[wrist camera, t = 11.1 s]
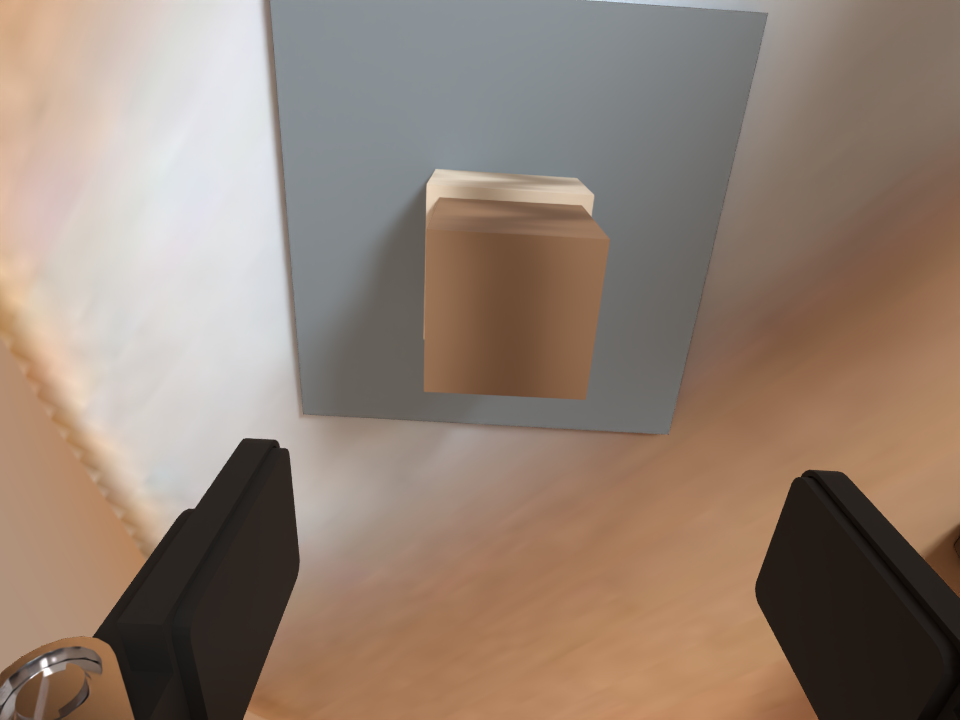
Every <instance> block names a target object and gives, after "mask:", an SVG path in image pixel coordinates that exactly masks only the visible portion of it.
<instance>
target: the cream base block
mask: <svg viewBox="0 0 960 720" xmlns="http://www.w3.org/2000/svg"><path fill="white" fill-rule="evenodd" d="M439 197H444V198H462V199H480V200H497V201H515V202H532V203H550V204H568V205H582V206H583V207H584V208H585V210H586V211H587V212H588V213H589V214H590V216H592V209H593V202H594V194H593V193H592V192H591V191H590V190H589V189H588V188H587V187H586V186H585V185H584V184H583V183H582V182H581V181H580V180H579V179H578V178H569V177H554V176H538V175H523V174H507V173H492V172H476V171H461V170H445V169H435V171H434V173H433V174H432V176H431V178H430V179H429V181H428V183H427V188H426V228H427V226H428V224H429V221H430V219H431V216H432V214H433V211H434V209H435V206H436V204H437V201H438V199H439ZM425 278H426V236H425ZM423 339H425V284H424V332H423Z"/></svg>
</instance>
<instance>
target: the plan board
mask: <svg viewBox="0 0 960 720" xmlns="http://www.w3.org/2000/svg"><path fill="white" fill-rule="evenodd" d="M270 8H271V20H272V33H273V45H274V57H275V70H276V82H277V95H278V107H279V119H280V132H281V144H282V157H283V169H284V181H285V194H286V206H287V219H288V231H289V244H290V256H291V268H292V281H293V293H294V306H295V318H296V330H297V343H298V355H299V368H300V380H301V392H302V405H303V414H308V415H326V416H344V417H362V418H380V419H398V420H416V421H434V422H452V423H470V424H488V425H506V426H524V427H542V428H560V429H578V430H596V431H614V432H632V433H650V434H668V435H669V431H670V427H671V423H672V418H673V414H674V410H675V406H676V401H677V397H678V393H679V389H680V385H681V380H682V376H683V372H684V368H685V363H686V359H687V355H688V351H689V346H690V342H691V338H692V334H693V329H694V325H695V321H696V317H697V312H698V308H699V304H700V300H701V296H702V291H703V287H704V283H705V279H706V274H707V270H708V266H709V262H710V257H711V253H712V249H713V245H714V240H715V236H716V232H717V228H718V223H719V219H720V215H721V211H722V206H723V202H724V198H725V194H726V190H727V185H728V181H729V177H730V173H731V168H732V164H733V160H734V156H735V151H736V147H737V143H738V139H739V134H740V130H741V126H742V122H743V117H744V113H745V109H746V105H747V101H748V96H749V92H750V88H751V84H752V79H753V75H754V71H755V67H756V62H757V58H758V54H759V50H760V45H761V41H762V37H763V33H764V28H765V24H766V20H767V16H768V13H759V12H745V11H731V10H717V9H702V8H688V7H674V6H660V5H646V4H632V3H617V2H603V1H589V0H270ZM435 169H445V170H461V171H476V172H492V173H507V174H523V175H538V176H554V177H569V178H578V179H579V180H580V181H581V182H582V183H583V184H584V185H585V186H586V187H587V188H588V189H589V190H590V191H591V192H592V193H593V194H594V202H593V209H592V216H591V217H592V218H593V219H594V221H595V222H596V223H597V224H598V225H599V227H600V228H601V229H602V230H603V231H604V233H605V234H606V235H607V236H608V238H609V239H610V243H609V250H608V256H607V263H606V269H605V276H604V283H603V289H602V296H601V303H600V309H599V316H598V322H597V329H596V336H595V342H594V349H593V355H592V362H591V369H590V375H589V382H588V388H587V395H586V400H577V399H558V398H538V397H518V396H499V395H479V394H459V393H440V392H424V346H425V339H423V332H424V284H425V236H426V188H427V183H428V181H429V179H430V178H431V176H432V174H433V173H434V171H435Z"/></svg>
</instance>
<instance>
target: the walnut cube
mask: <svg viewBox="0 0 960 720" xmlns="http://www.w3.org/2000/svg"><path fill="white" fill-rule="evenodd" d="M609 243H610V239H609V238H608V236H607V235H606V234H605V233H604V231H603V230H602V229H601V228H600V227H599V225H598V224H597V223H596V222H595V221H594V219H593V218H592V217H591V216H590V214H589V213H588V212H587V211H586V210H585V208H584V207H583V206H582V205H568V204H550V203H532V202H515V201H497V200H480V199H462V198H444V197H439V199H438V201H437V204H436V206H435V209H434V211H433V214H432V216H431V219H430V221H429V224H428V226H427V228H426V278H425V346H424V392H440V393H459V394H479V395H499V396H518V397H538V398H558V399H577V400H586V395H587V388H588V382H589V375H590V369H591V362H592V355H593V349H594V342H595V336H596V329H597V322H598V316H599V309H600V303H601V296H602V289H603V283H604V276H605V269H606V263H607V256H608V250H609Z"/></svg>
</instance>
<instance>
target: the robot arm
mask: <svg viewBox="0 0 960 720" xmlns="http://www.w3.org/2000/svg"><path fill="white" fill-rule="evenodd" d="M299 563H300V559H299V547H298V537H297V527H296V517H295V506H294V496H293V486H292V476H291V465H290V456H289V451H288V449H286V448H280V446H279V443H278V441H276V440H269V439H251V438H245V439H243V440H242V441H241V442H240V444H239V445H238V447H237V448H236V450H235V451H234V452H233V454H232V455H231V457H230V458H229V460H228V461H227V463H226V464H225V466H224V467H223V468H222V470H221V471H220V473H219V474H218V476H217V477H216V479H215V480H214V482H213V483H212V484H211V486H210V487H209V489H208V490H207V492H206V493H205V495H204V496H203V498H202V499H201V500H200V502H199V503H198V505H197V506H196V508H195V509H187V510H185V511H183V512H182V513H181V514H180V516H179V517H178V518H177V519H176V521H175V522H174V523H173V525H172V526H171V528H170V529H169V530H168V532H167V533H166V535H165V536H164V537H163V539H162V540H161V542H160V543H159V544H158V546H157V547H156V549H155V550H154V551H153V553H152V554H151V556H150V557H149V558H148V560H147V561H146V563H145V564H144V566H143V567H142V568H141V570H140V571H139V573H138V574H137V575H136V577H135V578H134V580H133V581H132V582H131V584H130V585H129V587H128V588H127V589H126V591H125V592H124V594H123V595H122V596H121V598H120V599H119V601H118V602H117V603H116V605H115V606H114V608H113V609H112V610H111V612H110V613H109V615H108V616H107V617H106V619H105V620H104V622H103V623H102V625H101V626H100V627H99V629H98V630H97V632H96V633H95V634H94V636H93V637H92V638H91V637H83V636H80V637H72V638H65V639H61V640H58V641H55V642H52V643H49V644H46V645H43V646H41V647H39V648H37V649H35V650H33V651H31V652H29V653H27V654H26V655H24V656H22V657H21V658H19V659H18V660H17V661H15V662H14V663H13V664H12V665H10V666H9V667H7V668H6V669H5V670H4V671H2V672H1V674H0V720H243V718H244V715H245V713H246V710H247V707H248V705H249V702H250V700H251V697H252V694H253V692H254V689H255V686H256V684H257V681H258V679H259V676H260V673H261V671H262V668H263V666H264V663H265V660H266V658H267V655H268V653H269V650H270V647H271V645H272V642H273V640H274V637H275V634H276V632H277V629H278V626H279V624H280V621H281V619H282V616H283V613H284V611H285V608H286V606H287V603H288V600H289V598H290V595H291V593H292V590H293V587H294V585H295V582H296V579H297V576H298V572H299ZM755 592H756V598H757V602H758V604H759V606H760V608H761V610H762V612H763V614H764V616H765V618H766V619H767V621H768V623H769V625H770V627H771V629H772V631H773V633H774V635H775V637H776V639H777V640H778V642H779V644H780V646H781V648H782V650H783V652H784V654H785V656H786V658H787V660H788V661H789V663H790V665H791V667H792V669H793V671H794V673H795V675H796V677H797V679H798V681H799V682H800V684H801V686H802V688H803V690H804V692H805V694H806V696H807V698H808V700H809V702H810V703H811V705H812V707H813V709H814V711H815V713H816V715H817V717H818V719H819V720H960V598H959V597H958V596H957V595H956V594H955V593H954V592H953V591H952V590H951V588H950V587H949V586H948V585H947V584H946V583H945V582H944V581H943V580H942V579H941V578H940V577H939V575H938V574H937V573H936V572H935V571H934V570H933V569H932V568H931V567H930V566H929V565H928V563H927V562H926V561H925V560H924V559H923V558H922V557H921V556H920V555H919V554H918V553H917V552H916V550H915V549H914V548H913V547H912V546H911V545H910V544H909V543H908V542H907V541H906V540H905V539H904V537H903V536H902V535H901V534H900V533H899V532H898V531H897V530H896V529H895V528H894V527H893V525H892V524H891V523H890V522H889V521H888V520H887V519H886V518H885V517H884V516H883V515H882V514H881V512H880V511H879V510H878V509H877V508H876V507H875V506H874V505H873V504H872V503H871V502H870V500H869V499H868V498H867V497H866V496H865V495H864V494H863V493H862V492H861V491H860V490H859V489H858V487H857V486H856V485H855V484H854V483H853V482H852V481H851V480H850V479H849V478H848V477H847V476H846V475H845V474H844V473H842V472H838V471H820V470H808V471H805V472H804V473H803V474H802V476H801V477H798V478H795V479H794V480H793V482H792V484H791V487H790V490H789V492H788V495H787V498H786V501H785V504H784V506H783V509H782V512H781V515H780V517H779V520H778V523H777V526H776V529H775V531H774V534H773V537H772V540H771V542H770V545H769V548H768V551H767V553H766V556H765V559H764V562H763V565H762V567H761V570H760V573H759V576H758V578H757V581H756V585H755Z"/></svg>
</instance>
